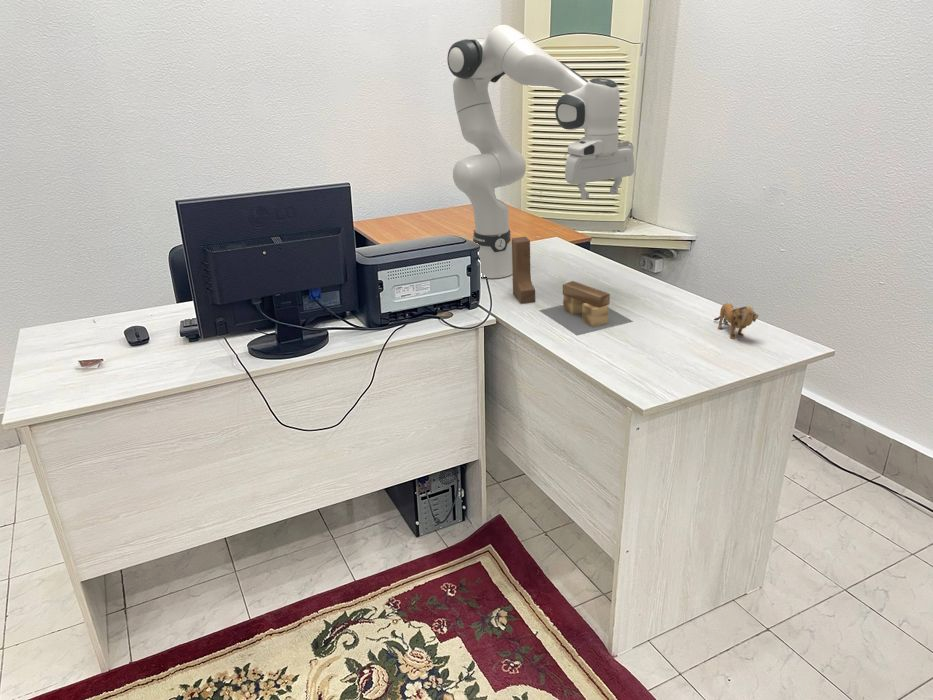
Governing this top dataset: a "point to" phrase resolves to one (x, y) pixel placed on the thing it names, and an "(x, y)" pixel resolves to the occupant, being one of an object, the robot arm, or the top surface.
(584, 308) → the cube
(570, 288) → the lintel
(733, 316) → the lion figurine
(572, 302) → the cube
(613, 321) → the mat
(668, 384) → the top surface
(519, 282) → the wooden block
